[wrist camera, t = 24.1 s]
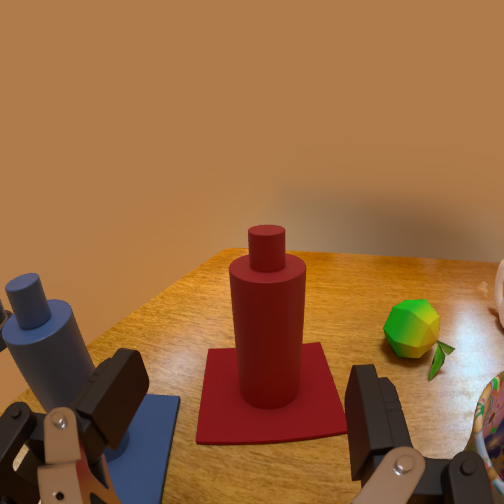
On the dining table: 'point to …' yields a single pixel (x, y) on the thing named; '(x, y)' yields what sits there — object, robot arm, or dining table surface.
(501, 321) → the cat figurine
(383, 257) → the dining table surface
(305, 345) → the red mat
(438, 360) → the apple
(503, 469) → the mug
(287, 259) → the red bottle
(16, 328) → the blue bottle
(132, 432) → the blue mat
